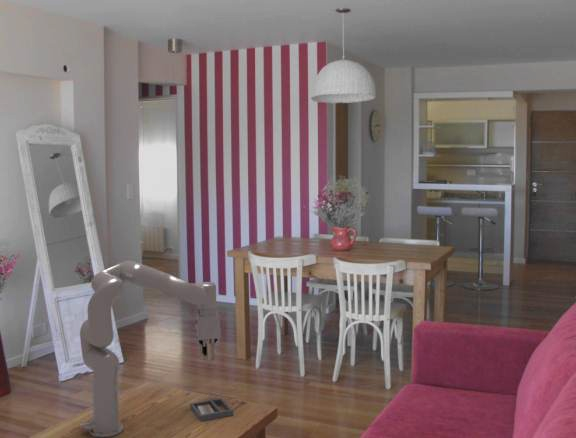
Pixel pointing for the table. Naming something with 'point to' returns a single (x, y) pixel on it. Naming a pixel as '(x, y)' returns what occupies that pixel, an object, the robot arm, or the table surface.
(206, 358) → the birch sheet
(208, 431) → the table surface
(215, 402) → the rack
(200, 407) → the offcut upper
